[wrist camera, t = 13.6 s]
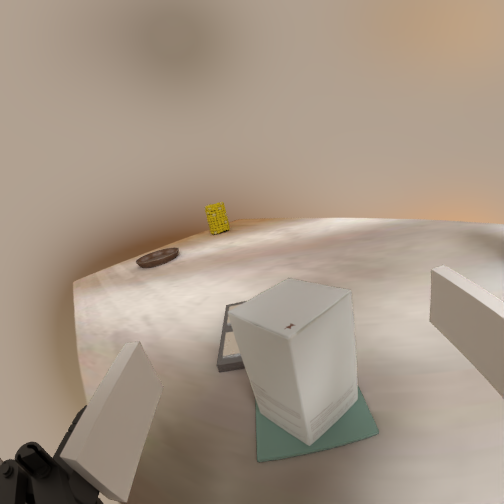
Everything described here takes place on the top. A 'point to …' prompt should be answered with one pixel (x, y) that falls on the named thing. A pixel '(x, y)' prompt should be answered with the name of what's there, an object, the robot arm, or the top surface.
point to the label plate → (229, 346)
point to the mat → (341, 433)
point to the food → (217, 218)
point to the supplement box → (299, 354)
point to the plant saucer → (157, 258)
